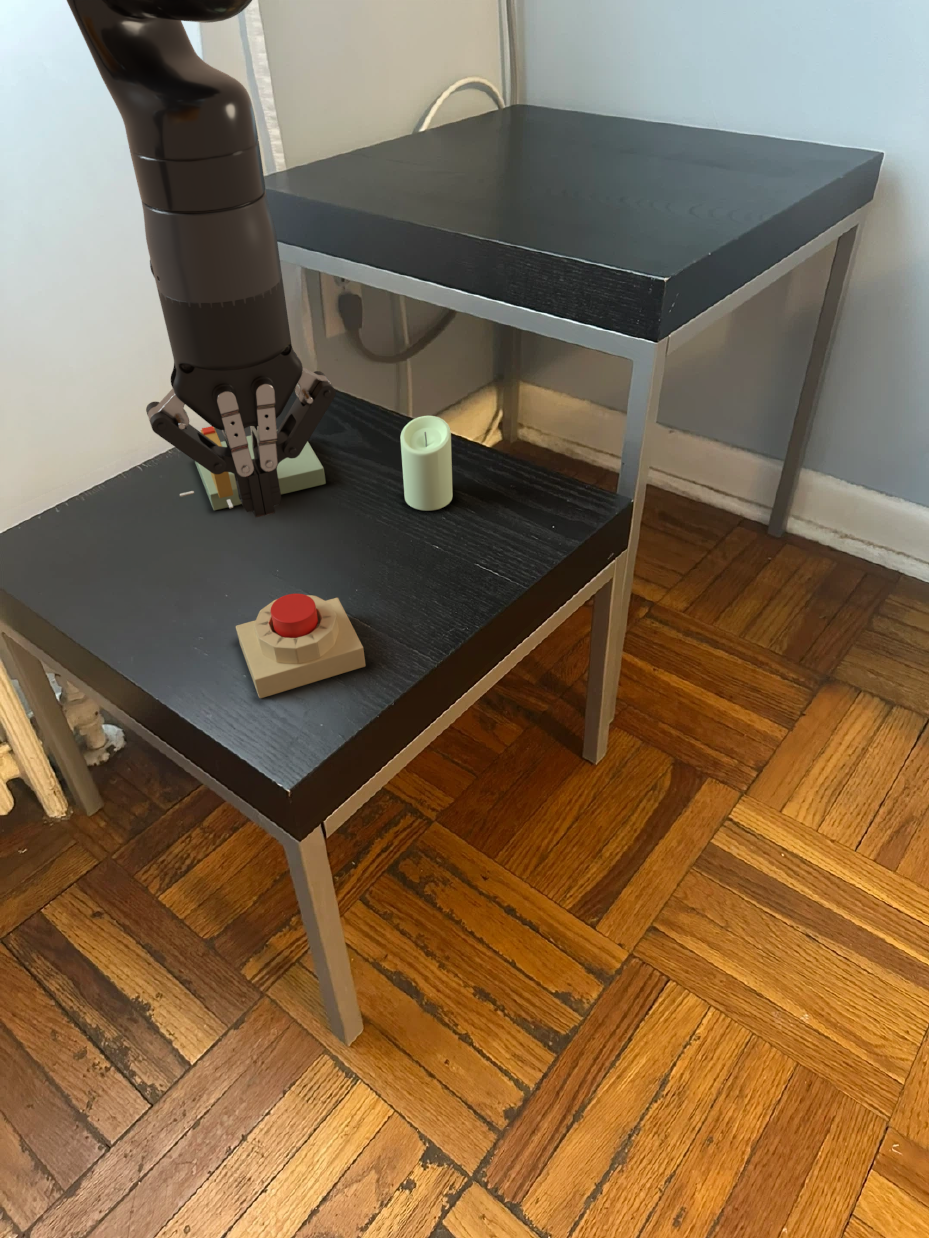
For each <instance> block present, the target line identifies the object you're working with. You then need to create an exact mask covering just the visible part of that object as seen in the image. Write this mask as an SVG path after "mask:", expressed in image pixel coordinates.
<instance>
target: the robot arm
mask: <svg viewBox="0 0 929 1238" xmlns="http://www.w3.org/2000/svg"><path fill="white" fill-rule="evenodd" d="M252 1H253V0H66V2H67V5H68V7H69V9H70V11H71V14H72V15H73V17H74V20H75V23H76V24H77V27H78V28H79V31H80V33H81V35H82V37H83V40H84V42H85V44H86V46H87V49H88V50H89V53H90V55H91V57H92V60H93V61H94V63H95V66H96V69H97V71H98V73H99V74H100V77H101V80H102V81H103V84H104V85H105V87H106V89H107V90H108V92H109V94H110V96H111V98H112V100H113V102H114V104H115V106H116V109H117V110H118V113H119V114H120V116H121V119H122V122H123V125H124V129H125V134H126V140H127V144H128V149H129V153H130V158H131V162H132V167H133V171H134V175H135V179H136V184H137V188H138V193H139V196H140V201H141V206H142V212H143V219H144V220H143V221H144V233H145V234H144V235H145V240H146V245H147V250H148V255H149V267H150V271H151V274H152V276H153V278H154V281H155V286H156V290H157V293H158V298H159V302H160V306H161V311H162V315H163V319H164V324H165V329H166V332H167V336H168V341H169V344H170V350H171V354H172V357H173V367H172V371H171V374H170V385H171V388H172V389H170V391H168V393H167V394H166V395H165V396H164V397H163V398H162V399H161V400H160V401H151V402H149V403H148V404H147V406H146V408H145V411H146V412H145V413H146V415H147V418H148V421H149V424H150V426H151V429H152V432H153V433H155V434H156V435H157V436H159V437H160V438H161V439H163V440H165V441H166V442H167V443H169V444H170V445H171V446H173V447H174V448H176V449H177V450H179V451H180V452H182V453H183V454H184V455H186V456H187V457H188V458H190V459H192V460H193V461H194V462H195V461H196V462H197V463H199V464H200V465H202V466H203V467H204V468H206V469H207V470H209V471H210V472H211V473H213V474H222V473H223V472H231V473H233V474H234V476H235V481H236V485H237V490H238V495H239V499H240V501H241V503H242V504H241V505H242V507H243V509H244V511H246V512H247V513H249V512H252V514H253V517H254V518H255V519H256V518H259V517H263V516H268V515H273V514H276V509H275V506H279V505H281V501H282V494H281V492H280V487H279V480H278V474H277V466H278V464H279V463H280V462H281V461H282V460H284V459H285V458H287V457H288V458H291V459H292V458H296V457H298V456H299V455H300V453H301V451H302V450H303V448H304V446H305V445H306V443H307V442H308V443H309V440H310V439H311V437H312V435H313V433H314V432H315V430H316V429H317V427H318V425H319V424H320V422H321V420H322V419H323V417H324V416H325V414H326V412H327V411H328V409H329V407H330V405H331V404H332V402H333V400H334V399H335V397H336V392H337V391H336V390H335V388H334V386H333V385H332V383H331V381H330V380H329V378H328V376H326V375H325V373H324V372H323V371H321V370H316V371H311V370H310V369H307V368H306V367H303V363H302V361H301V359H300V357H299V356H298V354H297V352H295V351H294V348H293V344H292V337H291V330H290V323H289V315H288V309H287V301H286V293H285V287H284V279H283V273H282V266H281V257H280V251H279V243H278V236H277V231H276V227H275V223H274V222H275V221H274V218H273V215H272V212H271V208H270V204H269V199H268V196H267V195H268V194H267V190H266V182H265V175H264V168H263V161H262V152H261V146H260V141H259V134H258V132H259V131H258V128H257V121H256V115H255V110H254V106H253V102H252V98H251V97H250V94H249V92H248V91H247V88H246V87H245V86H244V85H243V83H241V82H240V81H239V80H238V79H236V78H235V77H233V76H231V75H230V74H227V73H226V72H224V71H221V70H219V69H218V68H216V67H214V66H211V65H210V64H209V63H207V62H205V61H204V60H203V59H202V58H201V57H200V56H199V55H198V54H197V52H196V51H195V48H194V47H193V44H192V42H191V40H190V38H189V36H188V33H187V31H186V28H185V26H184V24H183V22H192V23H204V24H206V23H207V24H208V23H216V22H217V23H218V22H223V21H226V20H229V19H231V18H233V17H235V16H238V15H239V14H240V13H242V12H243V11H244V10H246V8H248V6H249V5H250V4H251V3H252ZM293 393H294V394H295V395H296V398H295V400H294V402H293V403H292V405H291V407H290V408H289V410H288V412H287V413H286V415H285V417H284V418H283V420H282V421H281V423H280V425H279V427H278V428H277V419H278V418H279V417H280V415H282V413H283V411H284V409H285V407H286V405H288V402H289V400H290V398H291V397H292V394H293ZM185 406H186V407H188V408H189V409H190V410H191V411H193V412H194V413H195V414H196V415H198V417H201V419H203V420H204V421H205V422H206V423H207V424H209V426H210V427H211V426H213V427H214V428H215V430H216V429H217V430H219V431H221V432H222V436H223V438H224V441H225V442H226V445H227V447H221V446H218V445H217V444H216V443H214V442H213V441H212V440H210V439H209V438H208V437H206V436H205V435H204V434H202V433H201V431H200V430H198V429H197V428H196V427H194V426H193V425H192V424H190V418H189V416H188V412H187V411H186V410H185ZM247 428H250V436H251V438H252V448H253V453H254V459H251V455H250V451H249V448H248V442H247V438H246V436H247V435H246V431H245V429H247Z"/></svg>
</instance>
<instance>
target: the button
mask: <svg viewBox="0 0 929 1238" xmlns="http://www.w3.org/2000/svg"><path fill="white" fill-rule="evenodd" d="M307 595H308V594H303V593H289V594H285V595H283V596H281V597H279V598H276V599H277V600H276V599H275V600H276V601H275V602H274V603H273V604H272V606H271V610H270V611H271V617H272V621H273V626H274V630H275V631H276V633H277V634H279V635H280V636H282V637H285V638H298V637H301V636H305V635H308V634H310V633H311V632H312V631H314V630H315V628H316V627H317V624H318V617H317V611H316V605H315V602H314V600H313V599H312V598H311V597H309V596H307Z"/></svg>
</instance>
